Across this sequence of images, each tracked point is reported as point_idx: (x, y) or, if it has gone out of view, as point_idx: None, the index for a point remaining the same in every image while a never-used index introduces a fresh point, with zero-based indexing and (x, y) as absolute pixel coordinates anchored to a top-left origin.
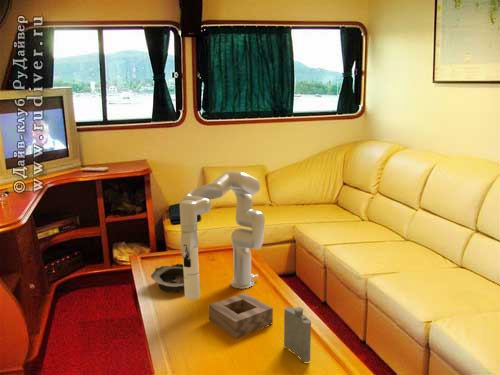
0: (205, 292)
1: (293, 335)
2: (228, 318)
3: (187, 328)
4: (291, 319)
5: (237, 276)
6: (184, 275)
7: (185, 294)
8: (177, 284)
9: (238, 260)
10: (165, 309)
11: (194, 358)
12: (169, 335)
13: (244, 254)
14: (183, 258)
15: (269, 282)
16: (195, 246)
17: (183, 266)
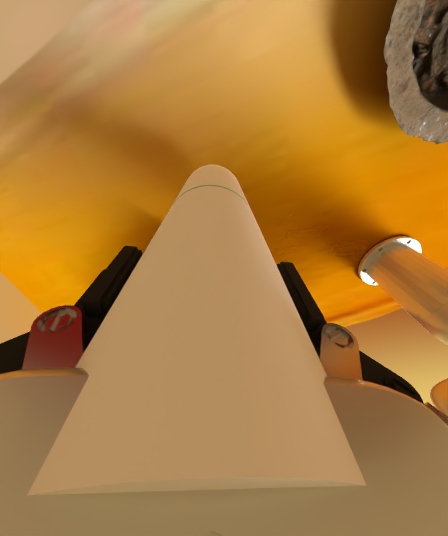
0: (362, 176)
1: None
2: None
3: (132, 187)
4: None
5: (393, 270)
6: (174, 203)
7: (189, 177)
8: (408, 47)
9: (434, 309)
10: (238, 48)
11: (19, 242)
12: (70, 143)
13: (445, 339)
14: (42, 319)
15: (377, 304)
16: None
17: (169, 219)
